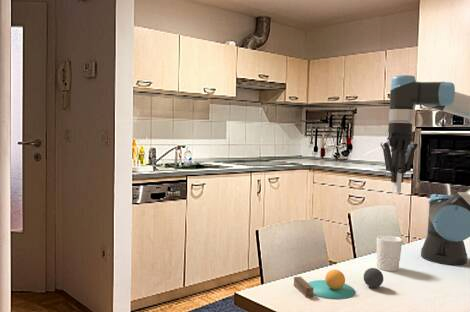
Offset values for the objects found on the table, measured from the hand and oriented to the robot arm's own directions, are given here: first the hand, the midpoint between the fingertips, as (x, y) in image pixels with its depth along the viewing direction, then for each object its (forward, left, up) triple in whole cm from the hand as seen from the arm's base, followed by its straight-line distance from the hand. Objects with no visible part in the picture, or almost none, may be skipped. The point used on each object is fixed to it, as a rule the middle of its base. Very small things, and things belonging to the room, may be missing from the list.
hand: (396, 192), depth 154 cm
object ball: (+31, +20, -22) cm, 43 cm away
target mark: (+33, +20, -24) cm, 46 cm away
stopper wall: (+41, +20, -24) cm, 52 cm away
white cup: (+5, +5, -25) cm, 26 cm away
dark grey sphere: (+20, +20, -22) cm, 35 cm away
